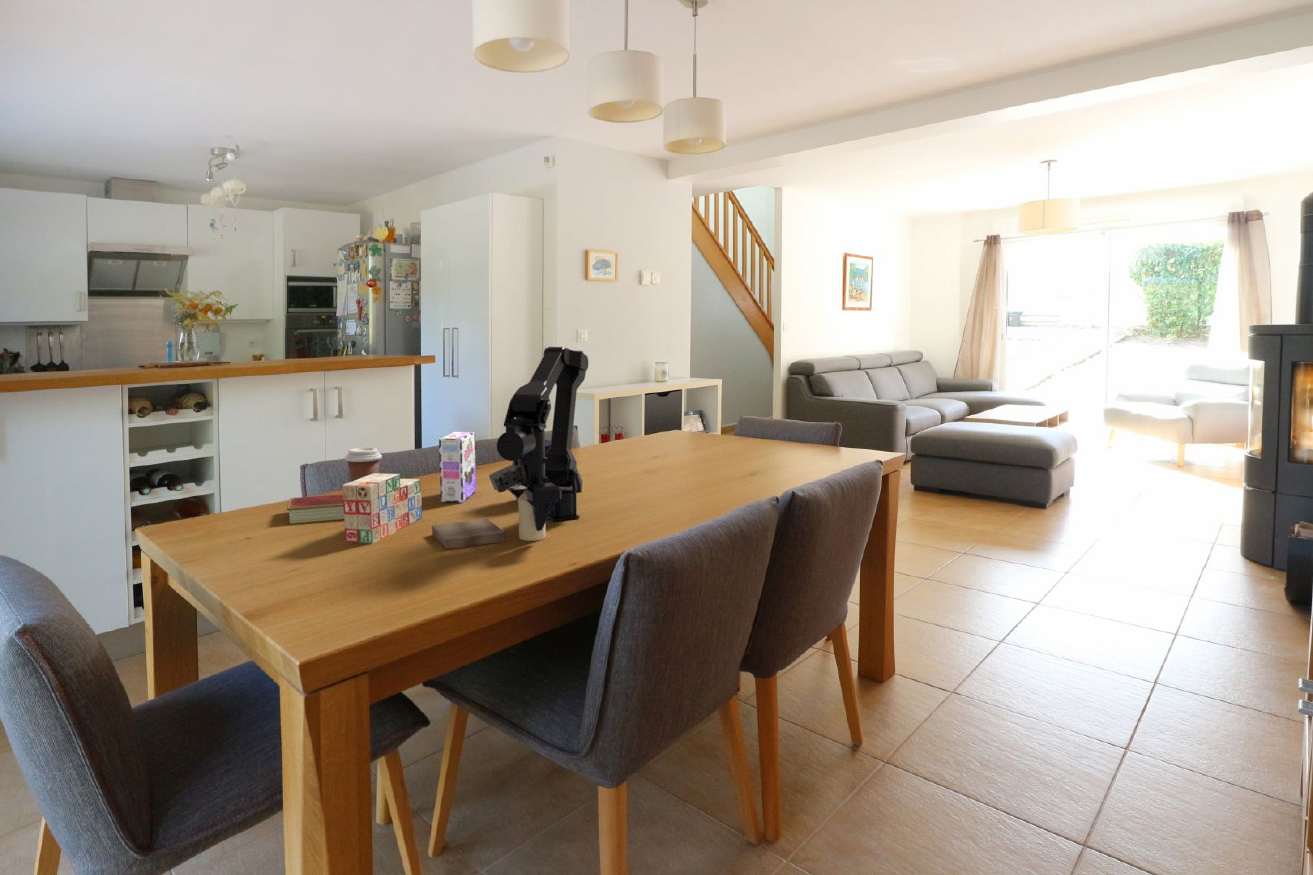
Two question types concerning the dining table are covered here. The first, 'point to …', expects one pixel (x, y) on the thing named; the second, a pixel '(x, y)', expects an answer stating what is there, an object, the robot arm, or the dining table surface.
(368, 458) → the coffee cup
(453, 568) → the dining table surface
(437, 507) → the dining table surface
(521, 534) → the candle
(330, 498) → the hardcover book
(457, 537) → the grey square slab
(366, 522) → the stack of blocks
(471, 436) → the candy box
